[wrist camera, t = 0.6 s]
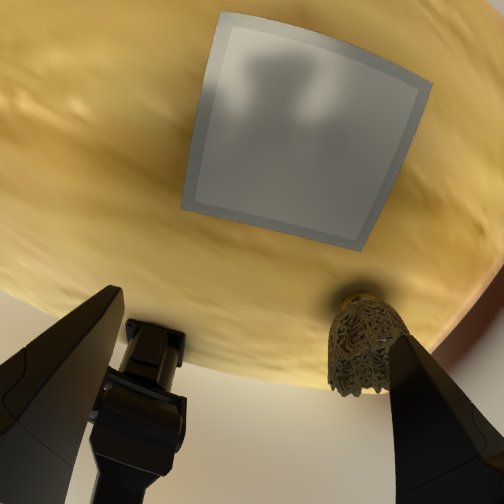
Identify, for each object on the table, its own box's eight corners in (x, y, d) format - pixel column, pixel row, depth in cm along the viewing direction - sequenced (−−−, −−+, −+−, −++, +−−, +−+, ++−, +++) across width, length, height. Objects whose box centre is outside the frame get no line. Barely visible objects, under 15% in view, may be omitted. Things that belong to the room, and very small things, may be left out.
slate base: (351, 228, 22) (361, 253, 19) (191, 189, 21) (180, 209, 18) (411, 79, 15) (433, 84, 12) (228, 19, 14) (220, 10, 11)
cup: (314, 330, 29) (322, 402, 22) (321, 273, 24) (335, 352, 18) (385, 325, 28) (404, 392, 21) (403, 269, 24) (435, 341, 17)
